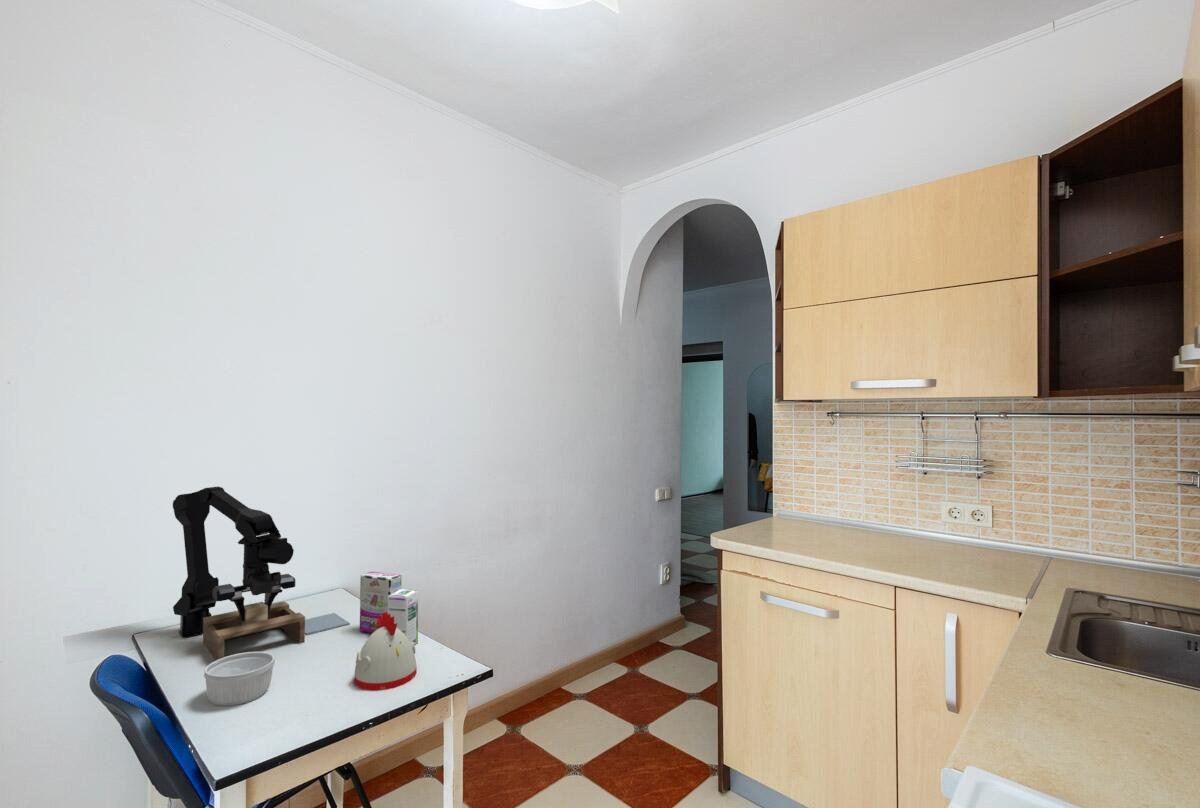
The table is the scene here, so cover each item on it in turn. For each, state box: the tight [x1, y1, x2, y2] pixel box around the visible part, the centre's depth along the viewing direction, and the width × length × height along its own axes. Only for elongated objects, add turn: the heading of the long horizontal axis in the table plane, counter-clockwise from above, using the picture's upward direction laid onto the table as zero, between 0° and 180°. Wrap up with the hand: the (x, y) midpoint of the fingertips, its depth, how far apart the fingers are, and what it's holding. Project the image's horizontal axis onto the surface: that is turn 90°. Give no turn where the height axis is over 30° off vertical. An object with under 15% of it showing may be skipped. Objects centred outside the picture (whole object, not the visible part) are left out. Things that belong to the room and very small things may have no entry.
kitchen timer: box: [353, 612, 418, 691], centre depth 136 cm, size 14×14×15 cm
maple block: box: [242, 601, 268, 625], centre depth 155 cm, size 5×5×5 cm
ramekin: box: [203, 651, 276, 707], centre depth 126 cm, size 13×13×7 cm
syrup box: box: [388, 588, 419, 645], centre depth 153 cm, size 6×6×14 cm
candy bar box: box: [359, 571, 402, 635], centre depth 163 cm, size 11×5×16 cm, turn 68°
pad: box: [305, 612, 350, 636], centre depth 169 cm, size 12×12×1 cm
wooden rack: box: [202, 600, 306, 661], centre depth 155 cm, size 20×18×7 cm
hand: (254, 618), depth 155 cm, fingers closed on maple block, 5 cm apart
